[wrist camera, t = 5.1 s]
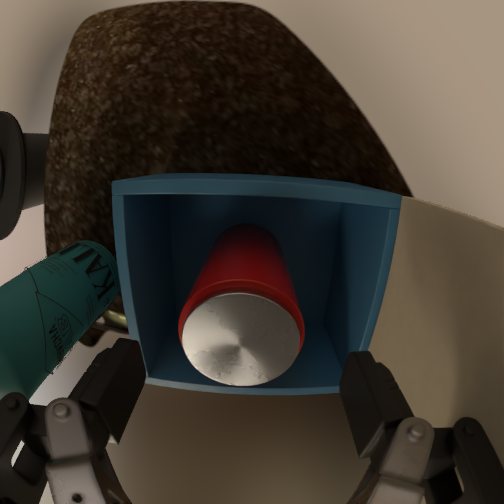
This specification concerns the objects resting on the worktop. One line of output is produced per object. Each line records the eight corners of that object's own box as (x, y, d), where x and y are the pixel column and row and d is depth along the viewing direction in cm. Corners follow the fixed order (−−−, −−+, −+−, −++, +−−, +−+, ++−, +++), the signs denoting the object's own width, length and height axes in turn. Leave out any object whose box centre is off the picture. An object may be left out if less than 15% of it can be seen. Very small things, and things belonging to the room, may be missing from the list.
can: (211, 289, 22) (181, 385, 12) (211, 221, 20) (168, 281, 10) (279, 292, 22) (297, 391, 12) (285, 225, 20) (317, 288, 10)
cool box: (171, 318, 24) (141, 382, 16) (164, 173, 20) (111, 181, 12) (327, 324, 24) (353, 391, 16) (348, 182, 20) (403, 195, 12)
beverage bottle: (82, 295, 23) (-43, 430, 4) (70, 232, 21) (-100, 338, 2) (136, 300, 23) (16, 482, 4) (126, 230, 21) (-71, 381, 2)
